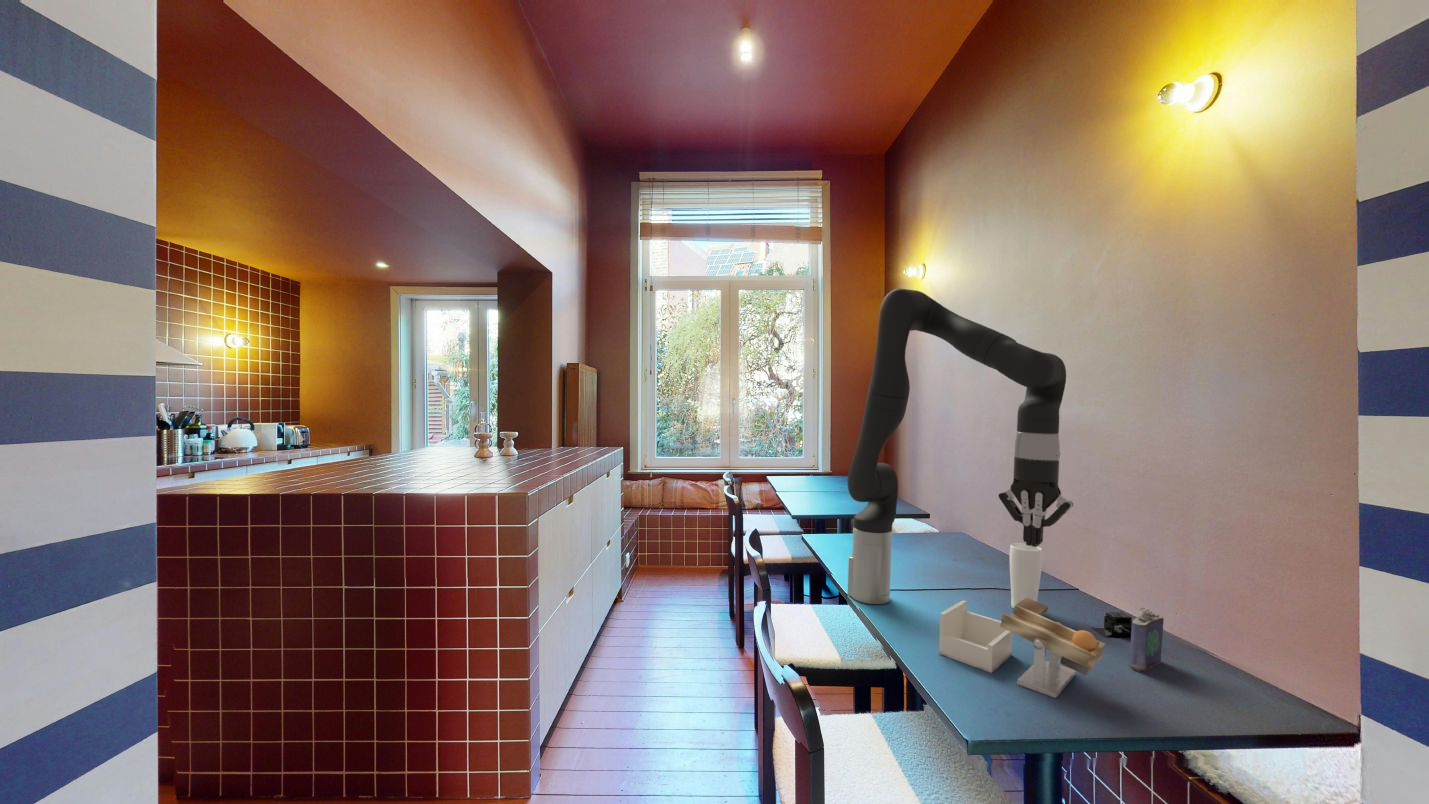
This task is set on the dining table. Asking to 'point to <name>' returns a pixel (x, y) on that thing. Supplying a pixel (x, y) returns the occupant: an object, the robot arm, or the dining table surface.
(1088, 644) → the ball
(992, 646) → the white open bin
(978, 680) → the dining table surface
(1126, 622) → the black blocky device
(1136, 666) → the flask
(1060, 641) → the chute
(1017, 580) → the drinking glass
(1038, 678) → the stand
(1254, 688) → the dining table surface
